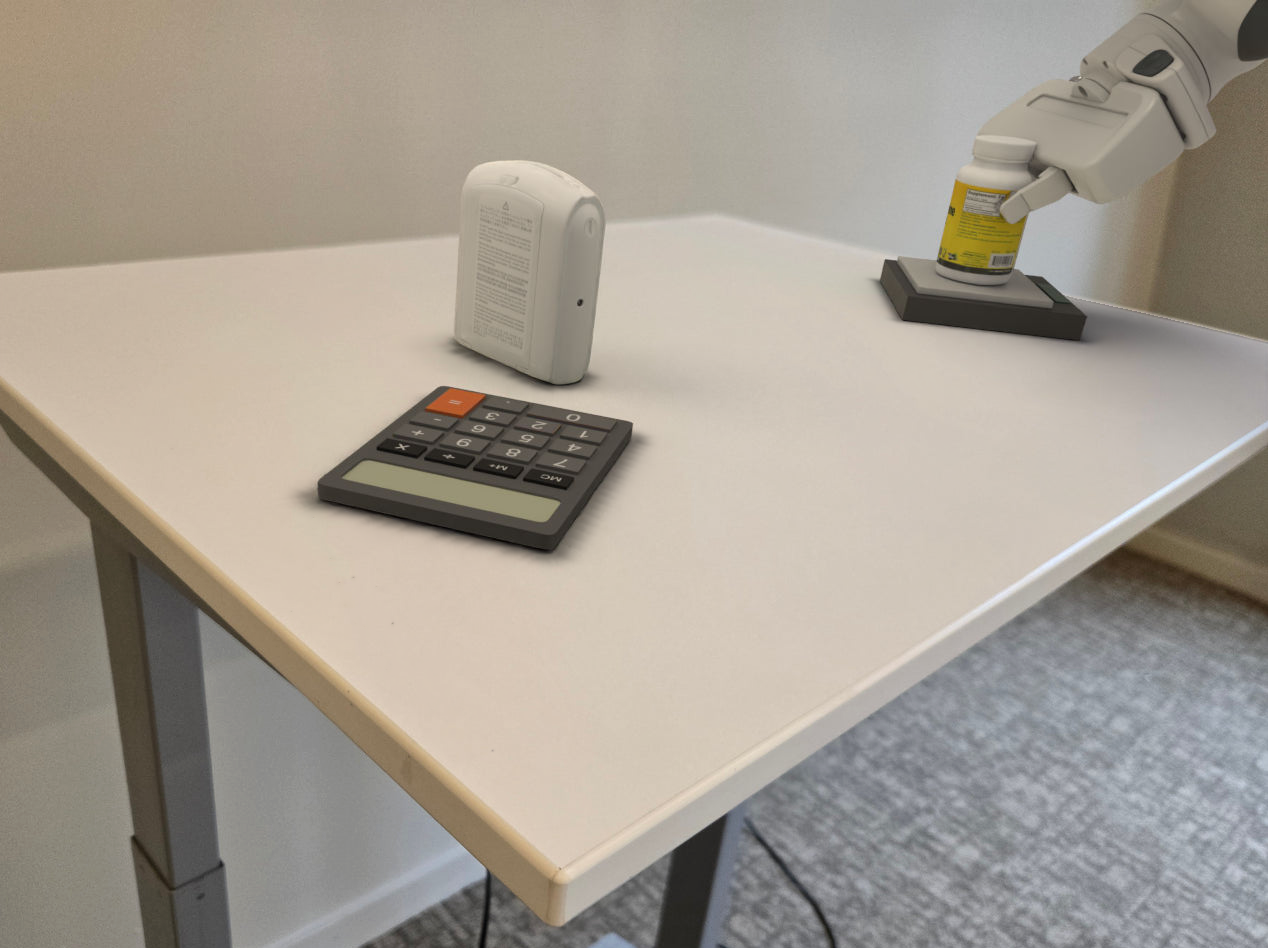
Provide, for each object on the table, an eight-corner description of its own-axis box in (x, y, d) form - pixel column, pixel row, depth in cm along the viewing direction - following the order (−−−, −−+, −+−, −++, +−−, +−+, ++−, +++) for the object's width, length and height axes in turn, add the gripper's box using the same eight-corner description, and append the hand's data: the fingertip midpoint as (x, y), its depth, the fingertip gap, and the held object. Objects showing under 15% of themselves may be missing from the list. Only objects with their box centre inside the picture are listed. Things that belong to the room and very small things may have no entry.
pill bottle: (945, 264, 95) (978, 131, 89) (1017, 278, 92) (1055, 141, 86) (923, 275, 90) (956, 136, 85) (998, 291, 87) (1037, 147, 82)
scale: (1036, 298, 97) (1044, 269, 96) (1079, 340, 86) (1090, 308, 85) (879, 280, 98) (886, 252, 97) (902, 320, 87) (909, 288, 86)
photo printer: (599, 378, 69) (621, 176, 63) (552, 391, 66) (570, 181, 60) (491, 334, 75) (502, 147, 69) (444, 344, 72) (451, 150, 66)
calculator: (635, 419, 60) (553, 532, 47) (633, 434, 60) (552, 551, 47) (441, 381, 62) (314, 479, 50) (440, 396, 63) (314, 497, 50)
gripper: (1054, 45, 92) (916, 155, 96) (1194, 65, 74) (1018, 199, 78) (1086, 105, 95) (951, 210, 98) (1230, 138, 77) (1058, 265, 80)
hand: (981, 206), depth 88 cm, fingers closed on pill bottle, 6 cm apart
